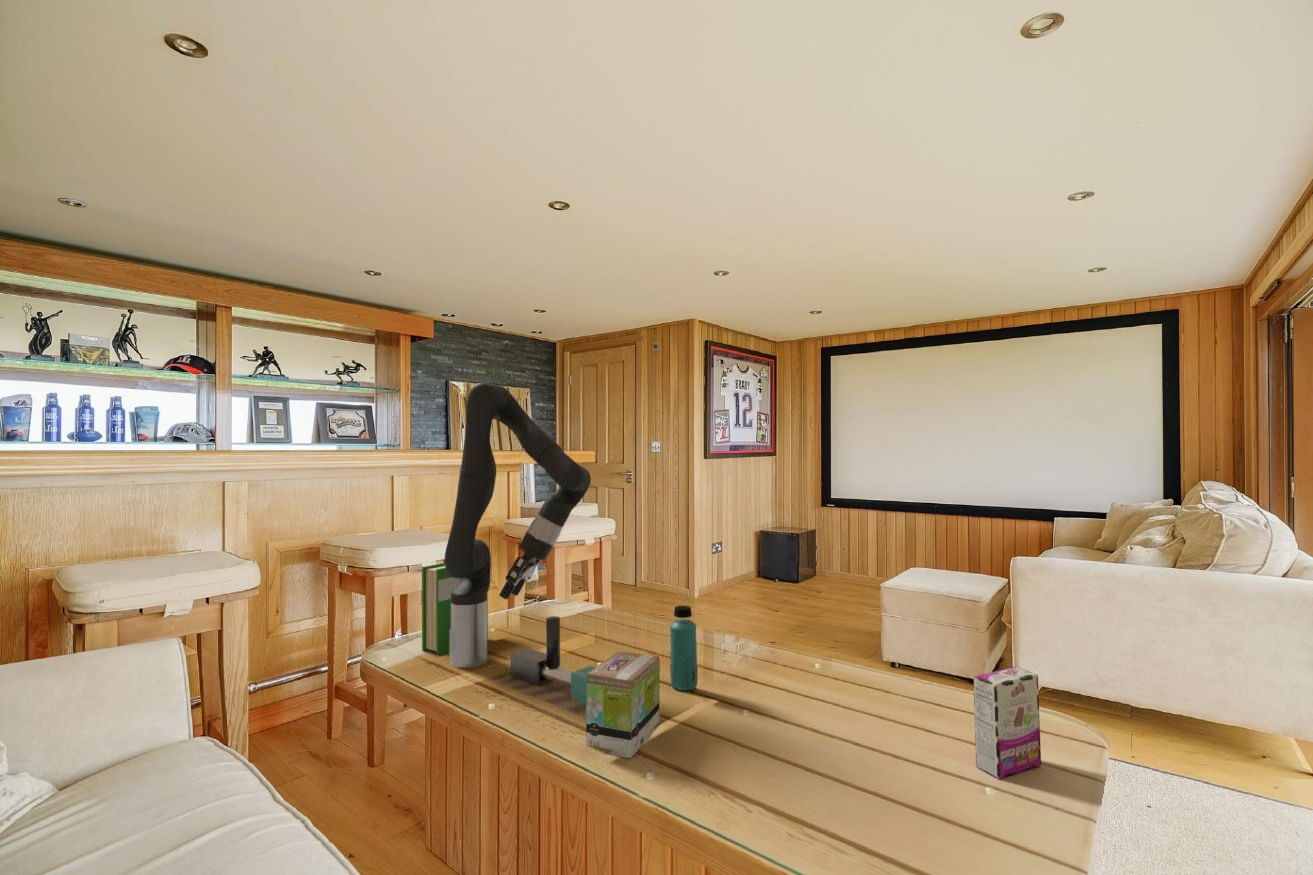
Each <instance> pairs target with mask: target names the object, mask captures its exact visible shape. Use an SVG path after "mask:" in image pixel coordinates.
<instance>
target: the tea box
mask: <svg viewBox="0 0 1313 875" xmlns="http://www.w3.org/2000/svg"><path fill="white" fill-rule="evenodd" d="M660 661H661V660H660V656H657V655H649V654H642V653H635V652H627V651H620V650H619V651H616V652H615V653H614V654H612V655H611V656H610V657H608V658H606V660H605V661H603V662H602V663H600V664H599V665H597V666H596V668H595V669H593V670H592V671H590V672H589V673H588V674H587V707H586V712H585V713H586V715H585V718H586V721H585V722H586V723H585V729H586V731H585V746H589V747H595V748H600V749H606V750H610V751H608V752H606V753H605V754H606V755H610V756H614V757H615V756H616V757H620V758H621V757H622V758H627V759H632V758H633V757H634V755H635V754H636V753H637V752H638V750H639V749H640V748H641V747H642V746H643V745H644V743H645V742H646V741H647V740H648V739H649V738H650V737H651V736H652V734H654V732H655V731H656V730H657V729H658V728H659V726H660V724H658V723H659V722H660V696H661V694H660V689H661V688H660V685H661V684H660V680H661V679H660V677H661V676H660V673H661V672H660V671H661V670H660V669H661V664H660V663H661V662H660ZM657 724H658V725H657Z"/></svg>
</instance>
